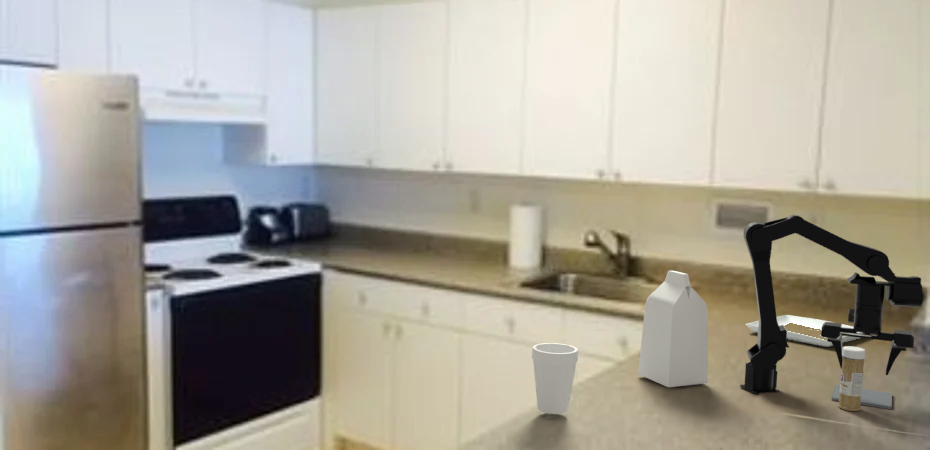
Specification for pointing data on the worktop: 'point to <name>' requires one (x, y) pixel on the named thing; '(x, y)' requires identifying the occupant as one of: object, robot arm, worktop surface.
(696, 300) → the milk
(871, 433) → the worktop surface
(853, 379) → the sprinkles bottle
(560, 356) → the foam cup
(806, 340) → the square plate
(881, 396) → the rest mat
